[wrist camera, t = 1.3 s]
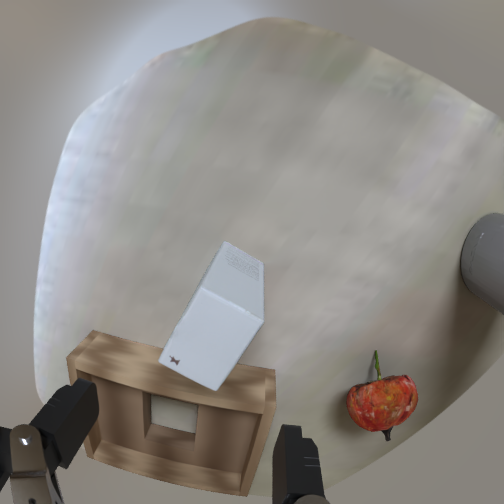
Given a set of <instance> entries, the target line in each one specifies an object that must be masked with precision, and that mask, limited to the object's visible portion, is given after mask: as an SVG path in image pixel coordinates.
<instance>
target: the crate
mask: <svg viewBox="0 0 504 504" xmlns="http://www.w3.org/2000/svg"><path fill="white" fill-rule="evenodd" d="M162 351H163V349H162V348H158V347H153V346H149V345H145V344H141V343H137V342H134V341H130V340H126V339H122V338H119V337H115V336H111V335H108V334H104V333H101V332H97V331H94V330H93V331H92V332H91V333H90V334H89V335H88V336H87V337H86V338H85V339H84V340H83V341H82V342H81V343H80V344H79V345H78V346H77V347H76V348H75V349H74V350H73V351H72V352H71V353H70V354H69V355H68V356H67V357H66V359H67V366H68V372H69V378H70V384H71V386H72V385H73V384H74V382H75V381H76V380H77V379H78V378H82V379H85V380H88V381H91V382H94V383H95V384H96V387H97V394H98V401H99V415H98V418H97V420H96V422H95V424H94V425H93V427H92V428H91V430H90V432H89V433H88V435H87V437H86V438H85V440H84V446H85V450H86V453H87V456H88V457H89V458H92V459H94V460H97V461H100V462H102V463H105V464H108V465H111V466H114V467H117V468H120V469H123V470H126V471H129V472H132V473H136V474H139V475H142V476H146V477H150V478H153V479H157V480H160V481H164V482H168V483H172V484H177V485H181V486H186V487H190V488H195V489H201V490H206V491H211V492H218V493H224V494H230V495H238V496H246V497H247V495H248V493H249V490H250V487H251V484H252V481H253V478H254V475H255V472H256V470H257V467H258V464H259V461H260V458H261V455H262V452H263V448H264V445H265V442H266V439H267V436H268V433H269V430H270V426H271V423H272V420H273V417H274V413H275V410H276V381H275V370H274V369H267V368H260V367H254V366H247V365H241V364H236V365H235V367H234V368H233V370H232V371H231V372H230V374H229V375H228V377H227V378H226V379H225V381H224V382H223V383H222V385H221V386H220V387H219V389H218V390H217V391H214V390H212V389H209V388H207V387H205V386H203V385H201V384H199V383H197V382H195V381H193V380H191V379H189V378H187V377H185V376H183V375H182V374H180V373H178V372H176V371H174V370H172V369H170V368H168V367H166V366H164V365H163V364H161V363H159V362H158V359H159V357H160V355H161V353H162ZM151 394H154V395H158V396H162V397H166V398H170V399H174V400H178V401H183V402H187V403H192V404H197V405H199V407H198V417H197V426H196V434H194V433H189V432H185V431H180V430H176V429H172V428H168V427H164V426H160V425H156V424H152V423H151Z"/></svg>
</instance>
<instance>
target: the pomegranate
mask: <svg viewBox="0 0 504 504" xmlns="http://www.w3.org/2000/svg"><path fill="white" fill-rule="evenodd" d="M375 359H376V364H375V368H376V369H377V373H378V379H377V380H376V381H370V382H367V383H368V384H358V385H355V386H353V387H352V388H351V389H350V391H349V393H348V396H347V402H346V404H347V409H348V412H349V414H350V416H351V418H352V419H353V420H354V422H355V423H356V424H357V425H359V426H360V427H362V428H364V429H366V430H368V431H371V432H375V431H382V432H383V433H384V435H385V439H386V441H389V440H391V439H390V432H391V430H392V428H393V426H395V425H399V424H401V423H402V422H404V421H405V420H406V419H407V418H408V417H409V416H410V414H411V413H412V412H413V411H414V410H415V408H416V405H417V402H418V394H417V390H416V385H415V383H414V382H413V380H412V379H411V378H410V377H409V376H407V375H402V376H389V377H386V378H383V379H382V380H381V373H380V369H379V362H378V355H377V350H376V351H375ZM372 382H373V383H372Z"/></svg>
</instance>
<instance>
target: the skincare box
mask: <svg viewBox="0 0 504 504" xmlns="http://www.w3.org/2000/svg"><path fill="white" fill-rule="evenodd" d="M263 323H264V264H263V263H262V262H261V261H259V260H257V259H255V258H253V257H252V256H250V255H248V254H247V253H245V252H243V251H242V250H240V249H238V248H236V247H235V246H233V245H231V244H230V243H228V242H226V241H224V242H223V243H222V245H221V246H220V248H219V250H218V251H217V253H216V255H215V256H214V258H213V260H212V261H211V263H210V265H209V267H208V268H207V270H206V272H205V274H204V276H203V277H202V279H201V281H200V283H199V285H198V287H197V289H196V290H195V292H194V294H193V296H192V298H191V300H190V301H189V303H188V305H187V307H186V309H185V311H184V313H183V314H182V316H181V318H180V320H179V322H178V323H177V325H176V327H175V329H174V331H173V332H172V334H171V336H170V338H169V340H168V342H167V343H166V345H165V347H164V349H163V351H162V353H161V355H160V357H159V359H158V362H159V363H161V364H163V365H164V366H166V367H168V368H170V369H172V370H174V371H176V372H178V373H180V374H182V375H183V376H185V377H187V378H189V379H191V380H193V381H195V382H197V383H199V384H201V385H203V386H205V387H207V388H209V389H212V390H214V391H217V390H218V389H219V387H220V386H221V385H222V383H223V382H224V381H225V379H226V378H227V377H228V375H229V374H230V372H231V371H232V370H233V368H234V367H235V365H236V364H237V362H238V360H239V359H240V357H241V356H242V354H243V353H244V351H245V350H246V348H247V347H248V345H249V344H250V343H251V341H252V340H253V338H254V337H255V335H256V334H257V332H258V331H259V329H260V328H261V326H262V325H263Z"/></svg>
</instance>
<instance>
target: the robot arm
mask: <svg viewBox="0 0 504 504" xmlns="http://www.w3.org/2000/svg"><path fill="white" fill-rule="evenodd" d="M461 271H462V276H463V280H464V282H465V284H466V286H467V288H468V289H469V290H470V291H471V292H472V293H474V294H475V295H477V296H478V297H479V298H481V299H482V300H484V301H485V302H487V303H488V304H489V305H491V306H492V307H493V308H495V309H496V310H497V311H499V312H500V313H502V314H503V315H504V215H503V214H498V213H493V214H489V215H486V216H485V217H483V218H481V219H480V220H479V221H478V222H477V223H476V224H475V225H474V226H473V228H472V229H471V231H470V232H469V234H468V236H467V238H466V241H465V244H464V247H463V251H462V257H461ZM98 415H99V401H98V394H97V387H96V384H95V383H94V382H91V381H88V380H85V379H82V378H78V379H77V380H76V381H75V382H74V384H73V385H72V386H69V385H65V386H64V387H62V388H60V389H58V390H57V391H56V392H55V393H54V395H53V396H52V398H50V399H49V401H48V402H47V404H45V405H44V407H43V408H42V409H41V410H40V412H39V413H38V414H37V415H36V416H35V418H34V419H33V420H32V421H31V423H30V424H29V425H27V424H21V425H18V426H16V427H14V428H13V429H9V428H4V427H0V491H1V490H2V488H3V486H4V485H5V483H6V481H7V480H8V478H9V476H10V484H11V490H12V496H13V502H14V504H64V501H63V497H62V494H61V490H60V487H59V483H58V479H57V475H56V472H55V470H56V469H57V467H58V466H60V467H63V468H65V469H67V468H68V467H69V465H70V463H71V461H72V460H73V458H74V456H75V455H76V453H77V451H78V450H79V448H80V446H81V445H82V443H83V442H84V440H85V438H86V437H87V435H88V433H89V432H90V430H91V428H92V427H93V425H94V424H95V422H96V420H97V418H98ZM11 473H12V474H11ZM272 500H273V504H330V503H329V501H328V500H326V498H325V495H324V489H323V482H322V475H321V468H320V461H319V455H318V448H317V446H316V445H315V443H314V442H313V440H312V439H311V438H302V430H301V426H296V425H285V424H283V425H282V426H281V429H280V432H279V435H278V438H277V441H276V444H275V447H274V451H273V494H272Z"/></svg>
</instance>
